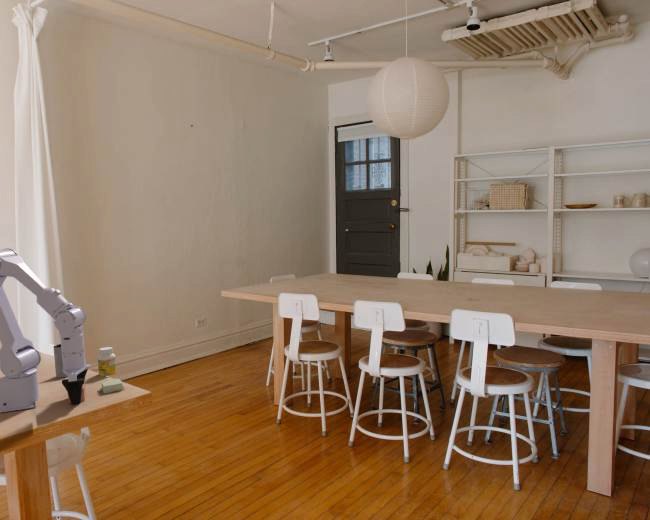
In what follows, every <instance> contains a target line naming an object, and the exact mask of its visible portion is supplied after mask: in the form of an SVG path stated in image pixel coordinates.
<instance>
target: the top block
mask: <svg viewBox="0 0 650 520" xmlns="http://www.w3.org/2000/svg"><path fill="white" fill-rule="evenodd" d="M122 385H123V382H122V380H121V379H120V378H115V379H110V380H104V381H101V388H102V390H103V392H104V393H107V394H109V393H108V392H113V391H118V392H120V391H119V390H123V387H124V386H123V387H122ZM123 391H124V390H123ZM113 393H114V392H113Z"/></svg>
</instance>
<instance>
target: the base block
mask: <svg viewBox="0 0 650 520" xmlns="http://www.w3.org/2000/svg"><path fill="white" fill-rule="evenodd" d="M122 387H123V390H119V391H113V392H108V393H104V392H103V390H102V387H101V388H100V391H101V392H102V395H106V394H112V393H116V392H118V393H119V392H122V391H126V388H125V387H124V385H123V384H122Z"/></svg>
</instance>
